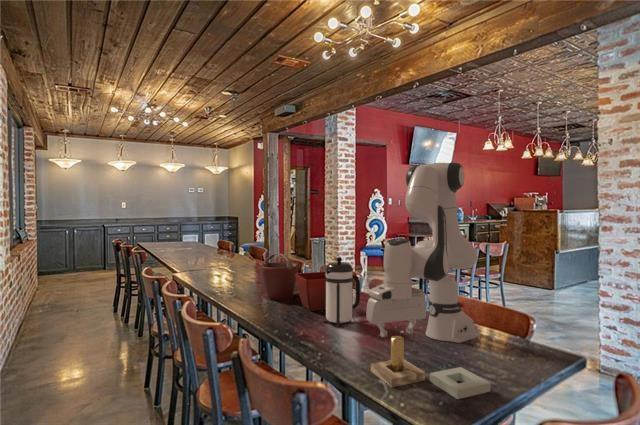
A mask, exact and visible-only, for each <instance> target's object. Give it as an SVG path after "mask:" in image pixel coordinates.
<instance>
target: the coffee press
mask: <svg viewBox="0 0 640 425" xmlns="http://www.w3.org/2000/svg"><path fill="white" fill-rule="evenodd" d="M342 260H343V259H342V257H340V256H338V257H337V258H336V261H334V262H330V263H328V264H327V265H326V266H325V268H324V272H326V282H325V310H324V311H325V312H324V313H325V315H324V317H323V318H322V319H323V320H322V322H323V323H326V322H328V321H329V322H331V323H335V324H336V325H335V326H336V328H340V327H341V326H340V324H343V323H349V322H351V323H352V324H354V325H355V324H356V319H355V318H354V317H353V313H354V309H357V308H358V306H359V305H360V302H361V300H360V299H361V283H360V281H361V280H360V278H359V276H358V275H355V274H354V273H353V271H354V268H353V265H351V263H349V262H344V261H342ZM354 281H355V302H354V303H353V282H354ZM325 318H326V320H325ZM324 320H325V321H324ZM352 320H354V321H352Z"/></svg>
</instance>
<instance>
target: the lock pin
mask: <svg viewBox="0 0 640 425" xmlns="http://www.w3.org/2000/svg"><path fill="white" fill-rule="evenodd" d="M404 351H405V338H404V337H403V336H401V335H393V336H390V360H391V371H393V372H394V373H397V372H402V371H404V360H405V355H404V354H405V352H404Z"/></svg>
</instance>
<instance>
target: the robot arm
mask: <svg viewBox="0 0 640 425" xmlns="http://www.w3.org/2000/svg"><path fill="white" fill-rule="evenodd" d="M465 179H466V173H465V170H464V167H463V166H462V164H460V163H458V162H455V161H454V162H432V163H426V164H425V163H424V164H421V165H419V164H417V165H416V164H415V165H413V166H411V167H409V169H408V170H407V171H406V174H405V183H406V187H407V189H406V194H405V199H404V205H405V208H406V210H407V211H408V213H409V214H410V215H412V216H413V217H414V218H416V219H418V220H420V221H423V222H425V223H427V224H428V225H429V228H430V229H431V230H432V232H431V233H432V239H426V240H421V241H420V240H419V241H418V242H417V243H416V244H415V245H414V247H412V246H411V245H412V243H411V241H410V239H408V238H405V237H397V238H395V237H394V238H391V239H388V240H387V241H386V242H385V245H384V246H385V247H384V252H383V270H384V276H383V282H382V283H381V284H379V285H377V286H375V287H373V288H370V289H369V290H368V295H369V298H368V300H367V304H366V310H365V312H366V315H365V317H366V321H367V322H369V324H370V323H371V324H372V325H377V327H378V329H379V330H380V331H379V332H380V337H381V338H387V337H388V331H387V330H386V329H385V328H384V327H385V325H386V324H387V323H394V322H396V323H397V322H403V321H408V322H409V324H408V325H407V326H406V327H405V333H407V334H408V335H409V334H411V335H412V334H414V327H415V325H416V324H417V320H421V319H425V318H426V316H427V305H426V303H427V302H426V293H425V291H424V290H422V289H421V288H417V289H414V288H413V279H412V278H415V279H423V280H424V279H425V280H428V284H429V300H428V314H429V315H428V319H427V320H428V321H427V326H426V331H425V336H427V337H428V338H430V339H433V340H436V341H445V342H452V343H458V344H459V343H463V342H467V341H470V340H473V339H476V338H480V337H482V333H481V332H480V331H478V330H476V327H475V326H476V325H475V321H474V320H473V319H472V318H471V317H470V316H469V315H468V314H466V313H465V312H464V311H462V308H463V309H465V308H466V307H467V305H468V304H466V303H465V302H463V301H462V302H460V301H459V285H458V282H457V281H456V280H455V279H454V278H453V277H451V276H450V275H449V274H448V273H449V269H452V270H453V269H454V270H468V269H472V268H473V267H474V266H475V264H476V262H477V259H478V253H477V249H476V247H475V246H474V245H473V244H471V243H470V242H469V241H468V240H467V239H466V238H465V237H464V235H463V233H462V232H461V229H460V227H459V219H458V204H457V194H456V193H457V191H458V190H460V189H461V188H462V187H463V186H464V182H465Z"/></svg>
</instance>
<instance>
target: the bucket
mask: <svg viewBox="0 0 640 425" xmlns="http://www.w3.org/2000/svg"><path fill="white" fill-rule="evenodd" d="M275 256H281V258H283V259H284V260H285V262H280V261H279V262H270V261H269V260H272V259H273V258H274V257H275ZM298 271H299V263H296V262H295V263H294V262H292V260H291V259H290V258H289V257H288V255H286V254H285V253H272V254H270V255H269V256H268V257H267V258H265V260H264V263H263V264H259V274H260V278H261V279H260V280H261V284H262V289H263V293H264V297H265V298H266V299H267V300H272V301H284V300H289V299H290V298H291V299H293V297H294V293H295V287H296V284H297V283H296V276H295V274H297V273H299V272H298Z"/></svg>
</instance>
